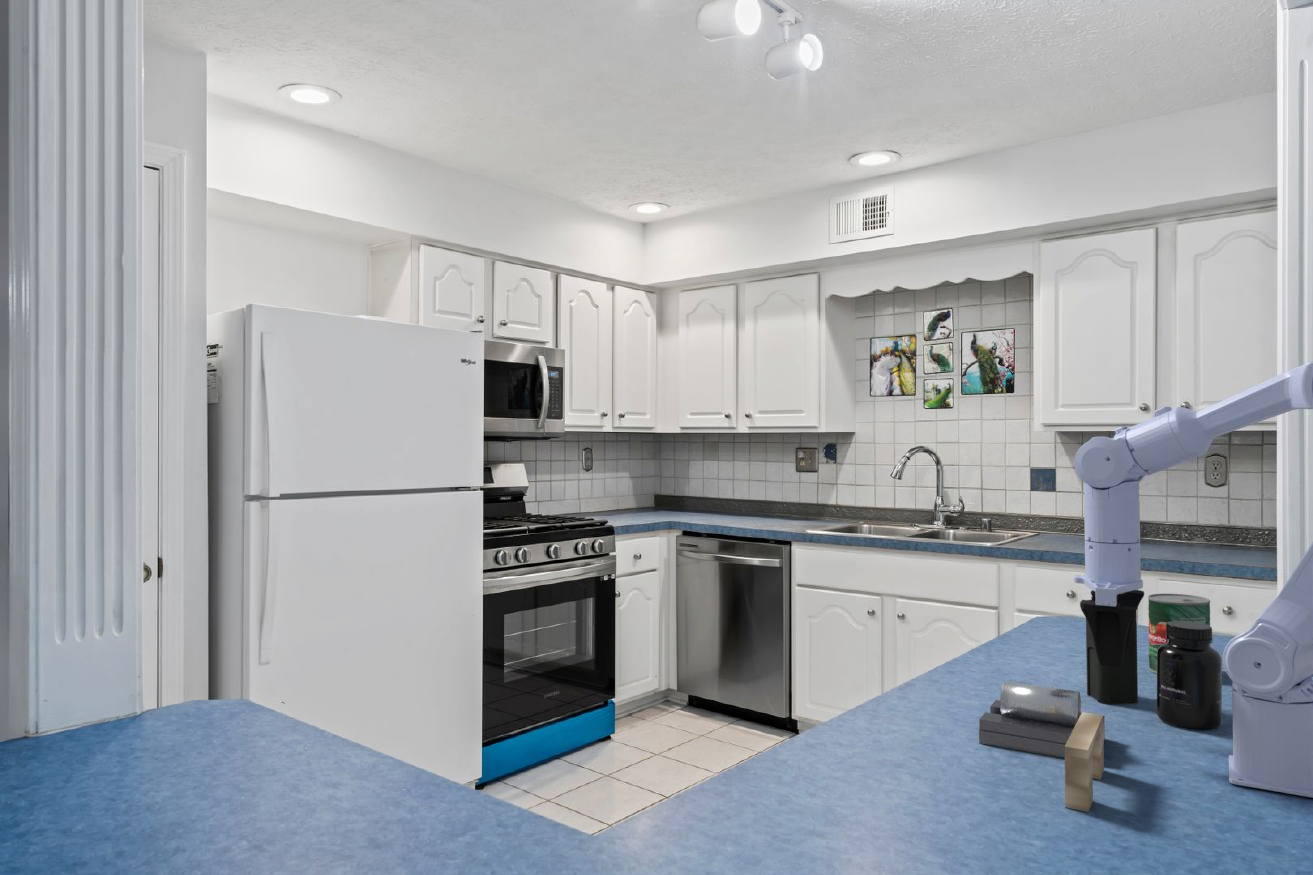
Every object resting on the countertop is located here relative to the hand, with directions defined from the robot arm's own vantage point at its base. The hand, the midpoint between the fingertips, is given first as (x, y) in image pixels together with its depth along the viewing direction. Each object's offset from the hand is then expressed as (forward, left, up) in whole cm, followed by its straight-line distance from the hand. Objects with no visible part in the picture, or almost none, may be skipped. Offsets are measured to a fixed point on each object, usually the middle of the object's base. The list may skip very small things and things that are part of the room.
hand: (1113, 657), depth 100 cm
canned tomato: (-5, -36, -10) cm, 38 cm away
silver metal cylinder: (+7, +5, -7) cm, 11 cm away
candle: (+2, -17, -10) cm, 20 cm away
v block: (+7, +5, -9) cm, 13 cm away
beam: (+1, +17, -9) cm, 19 cm away
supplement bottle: (-7, -11, -10) cm, 16 cm away
